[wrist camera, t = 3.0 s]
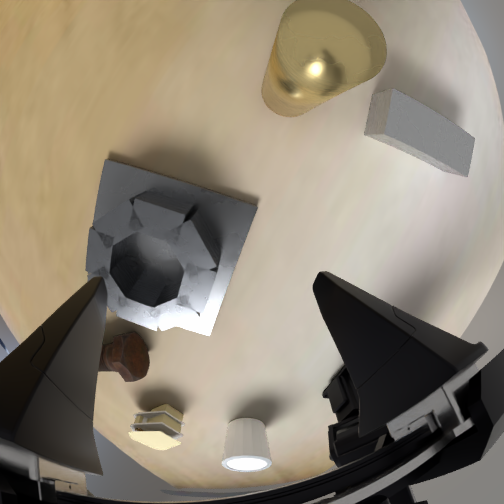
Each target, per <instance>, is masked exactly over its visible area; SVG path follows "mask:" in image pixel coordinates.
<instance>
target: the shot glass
mask: <svg viewBox="0 0 504 504" xmlns="http://www.w3.org/2000/svg"><path fill="white" fill-rule="evenodd" d="M271 464H272V460H271V455H270V450H269V445H268V439H267V434H266V429H265V425H264V423H263V422H262V421H260V420H258V419H253V418H240V419H235V420H233V421H231V422H230V423H229V424H228V427H227V434H226V440H225V446H224V452H223V458H222V465H223V466H224V467H225V468H227V469H230V470H233V471H239V472H254V471H260V470H264V469H267V468H268V467H270V466H271Z"/></svg>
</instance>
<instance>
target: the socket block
mask: <svg viewBox="0 0 504 504" xmlns="http://www.w3.org/2000/svg"><path fill="white" fill-rule="evenodd" d="M257 208H258V206H256V205H254V204H251V203H248V202H245V201H242V200H239V199H236V198H233V197H231V196H228V195H225V194H222V193H219V192H216V191H213V190H210V189H207V188H204V187H201V186H197V185H194V184H191V183H188V182H185V181H182V180H179V179H175V178H172V177H169V176H166V175H162V174H159V173H156V172H152V171H149V170H146V169H142V168H139V167H135V166H132V165H128V164H125V163H121V162H118V161H114V160H110V159H105V162H104V167H103V171H102V176H101V180H100V185H99V190H98V196H97V201H96V207H95V214H94V220H93V223H92V224H93V226H92V227H91V228H89V237H88V246H87V257H86V271H87V272H88V276H87V277H88V281H89V280H90V279H92V278H93V277H95V276H102V277H103V278H104V280H105V284H106V288H107V292H108V300H107V306H108V308H109V309H110V310H111V312H114V311H116V310H117V314H116V316H118V317H120V318H123V319H125V320H128V321H131V322H133V323H136V324H139V325H141V326H144V327H147V328H150V329H152V330H155V331H157V329H158V327H159V328H160V329H161V331H164V330H166V329H169V328H172V327H175V326H179V327H182V328H185V329H188V330H191V331H194V332H198V333H201V334H204V335H208V336H210V333H211V330H212V328H213V325H214V322H215V319H216V317H217V314H218V311H219V309H220V306H221V303H222V301H223V298H224V295H225V293H226V290H227V287H228V284H229V282H230V279H231V276H232V274H233V271H234V268H235V266H236V263H237V261H238V258H239V255H240V253H241V250H242V247H243V245H244V242H245V239H246V237H247V234H248V232H249V229H250V226H251V224H252V221H253V218H254V216H255V213H256V211H257Z"/></svg>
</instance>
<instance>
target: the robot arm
mask: <svg viewBox="0 0 504 504" xmlns="http://www.w3.org/2000/svg"><path fill="white" fill-rule="evenodd" d="M313 292H314V295H315V298H316V300H317V303H318V306H319V309H320V312H321V314H322V317H323V319H324V321H325V323H326V325H327V327H328V329H329V331H330V334H331V336H332V338H333V340H334V342H335V344H336V346H337V348H338V350H339V353H340V355H341V357H342V359H343V361H344V363H345V366H344V367H343V368H342V370H341V371H340V372H339V374H338V375H337V376H336V378H335V379H334V380H333V381H332V383H331V384H330V385H329V386H328V388H327V389H326V390H325V391H324V392H323V394H322V396H323V398H329V400H330V403H331V407H332V411H333V413H336V417H337V420H338V423H336V424H332V425H329V426H328V428H329V431H328V437H329V450H330V455H329V457H330V460H332V461H334V462H335V464H336V465H337V467H338V468H336V469H334V470H331V471H329V472H326V473H323V474H320V475H317V476H314V477H311V478H308V479H305V480H302V481H299V482H295V483H292V484H288V485H284V486H281V487H277V488H273V489H268V490H264V491H259V492H255V493H250V494H244V495H238V496H232V497H225V498H217V499H209V500H197V501H179V502H146V501H128V500H117V499H109V498H101V497H95V496H94V495H93V494H91V493H90V492H89V491H88V490H87V487H86V479H85V473H87V474H93V475H101V476H103V471H102V468H101V464H100V460H99V456H98V452H97V448H96V444H95V439H94V434H93V415H94V402H95V392H96V383H97V375H98V368H99V361H100V354H101V348H102V343H103V337H104V332H105V324H106V311H107V300H108V292H107V288H106V284H105V280H104V278H103V277H102V276H95V277H93V278H92V279H90V280H89V281H88V282H87V283H86V284H85V285H84V286H82V287H81V288H80V289H79V290H78V291H77V292H76V293H75V294H73V295H72V296H71V297H70V298H69V299H68V300H67V301H66V302H65V303H64V304H63V305H61V306H60V307H59V308H58V309H57V310H56V311H55V312H54V313H53V314H52V315H51V316H50V317H49V318H48V319H47V320H46V321H45V322H44V323H43V324H42V325H41V326H39V327H38V328H37V329H36V330H35V331H34V332H33V333H32V334H31V335H30V336H29V337H28V338H27V339H26V340H25V341H24V342H22V343H21V344H20V345H19V346H18V347H17V348H16V349H15V350H13V351H12V352H11V353H10V354H9V355H8V356H7V357H6V358H4V359H3V360H2V361H1V362H0V504H302V503H305V502H308V501H311V500H314V499H317V498H320V497H322V496H325V495H327V494H330V493H333V492H336V495H334V497H332V498H327V499H323V500H320V501H318V502H316V503H313V504H428V502H427V501H421V502H416V499H415V496H414V494H413V491H412V488H411V486H410V485H413V484H417V483H420V482H424V481H427V480H430V479H433V478H437V477H439V476H442V475H445V474H448V473H451V472H453V471H456V470H458V469H461V468H464V467H466V466H468V465H471V464H473V463H475V462H477V461H480V460H481V459H482V458H483V456H484V455H485V454H486V453H487V452H488V451H489V449H490V448H491V447H492V446H493V445H494V443H495V442H496V441H497V440H498V438H499V437H500V436H501V434H502V433H503V432H504V349H503V350H502V351H501V352H500V353H499V354H498V355H497V356H496V357H495V358H493V359H492V360H491V361H490V362H489V363H488V364H487V365H485V367H483V368H482V369H481V370H480V371H479V370H478V368H477V366H476V364H475V363H476V362H477V361H478V360H479V359H480V358H481V357H482V356H483V355H484V354H485V353H486V352H487V351H488V348H487V347H486V346H485V345H484V344H483V343H482V342H478V343H477V344H471V343H468V342H467V341H464V340H462V339H460V338H458V337H456V336H454V335H452V334H450V333H448V332H445V331H443V330H441V329H439V328H437V327H435V326H433V325H431V324H428V323H426V322H424V321H422V320H420V319H418V318H416V317H414V316H412V315H410V314H408V313H406V312H404V311H402V310H400V309H398V308H396V307H394V306H391V305H390V304H388V303H386V302H384V301H383V300H381V299H379V298H377V297H375V296H373V295H371V294H369V293H368V292H366V291H364V290H362V289H360V288H358V287H356V286H354V285H352V284H351V283H349V282H347V281H345V280H343V279H341V278H339V277H337V276H335V275H333V274H331V273H330V272H327V271H322V272H319V273H318V274H317V277H316V279H315V281H314V283H313Z"/></svg>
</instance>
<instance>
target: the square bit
mask: <svg viewBox="0 0 504 504" xmlns="http://www.w3.org/2000/svg"><path fill="white" fill-rule="evenodd" d="M364 135H365V136H368V137H370V138H373V139H375V140H378V141H380V142H383V143H385V144H388V145H390V146H392V147H395V148H397V149H399V150H401V151H404V152H406V153H408V154H410V155H412V156H414V157H416V158H418V159H421V160H423V161H425V162H427V163H429V164H431V165H433V166H434V167H436V168H438V169H440V170H442V171H444V172H448V173H452V174H456V175H460V176H464V177H468V173H469V168H470V164H471V159H472V153H473V148H474V142H475V138H474V137H473V136H471V135H470V134H469V133H467V132H466V131H464V130H463V129H462V128H460V127H459V126H457V125H456V124H454V123H453V122H451V121H450V120H448V119H447V118H445V117H444V116H442V115H440V114H439V113H437V112H436V111H434V110H432V109H431V108H429V107H427V106H426V105H424V104H422V103H420V102H419V101H417V100H415V99H413V98H411V97H409V96H407V95H406V94H404V93H402V92H400V91H398V90H396V89H394V88H391V89H388V90H385V91H382V92H379V93H376V94H373V95H372V99H371V104H370V109H369V114H368V119H367V123H366V128H365V132H364Z"/></svg>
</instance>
